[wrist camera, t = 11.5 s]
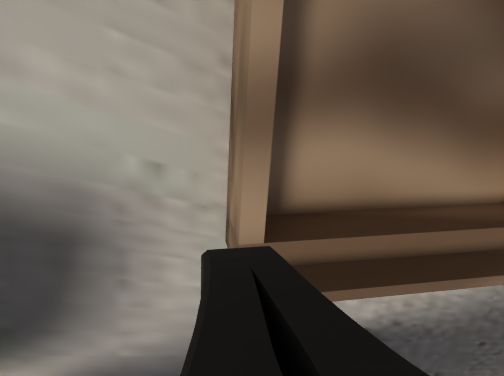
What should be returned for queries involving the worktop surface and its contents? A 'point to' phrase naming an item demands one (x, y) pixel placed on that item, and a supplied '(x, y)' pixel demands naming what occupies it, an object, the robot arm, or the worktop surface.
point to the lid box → (370, 142)
